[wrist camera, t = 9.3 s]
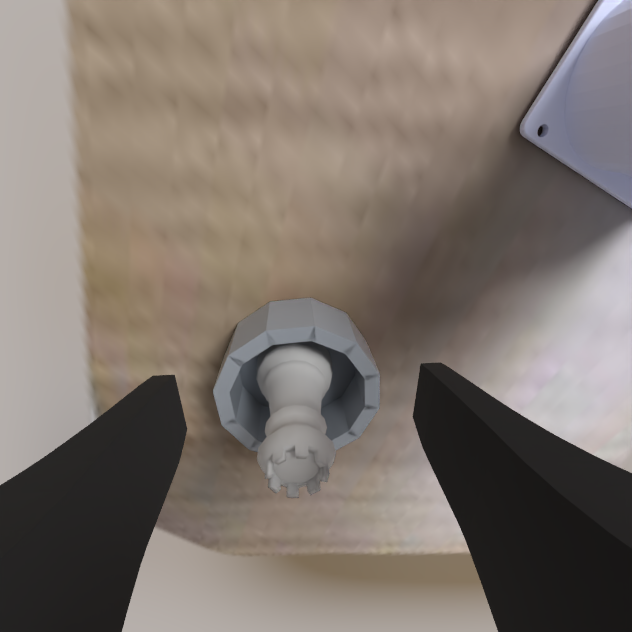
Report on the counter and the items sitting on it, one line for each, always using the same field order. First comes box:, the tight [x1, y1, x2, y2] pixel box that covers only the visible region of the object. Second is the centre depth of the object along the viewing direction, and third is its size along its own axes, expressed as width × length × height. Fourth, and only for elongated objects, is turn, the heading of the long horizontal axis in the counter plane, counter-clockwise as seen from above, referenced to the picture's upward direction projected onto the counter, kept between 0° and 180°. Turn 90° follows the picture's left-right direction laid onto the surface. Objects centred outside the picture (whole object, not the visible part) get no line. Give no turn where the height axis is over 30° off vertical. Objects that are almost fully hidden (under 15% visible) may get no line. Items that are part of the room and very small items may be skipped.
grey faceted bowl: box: [213, 298, 380, 452], centre depth 19 cm, size 9×9×4 cm
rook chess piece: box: [256, 341, 336, 498], centre depth 17 cm, size 4×4×8 cm
